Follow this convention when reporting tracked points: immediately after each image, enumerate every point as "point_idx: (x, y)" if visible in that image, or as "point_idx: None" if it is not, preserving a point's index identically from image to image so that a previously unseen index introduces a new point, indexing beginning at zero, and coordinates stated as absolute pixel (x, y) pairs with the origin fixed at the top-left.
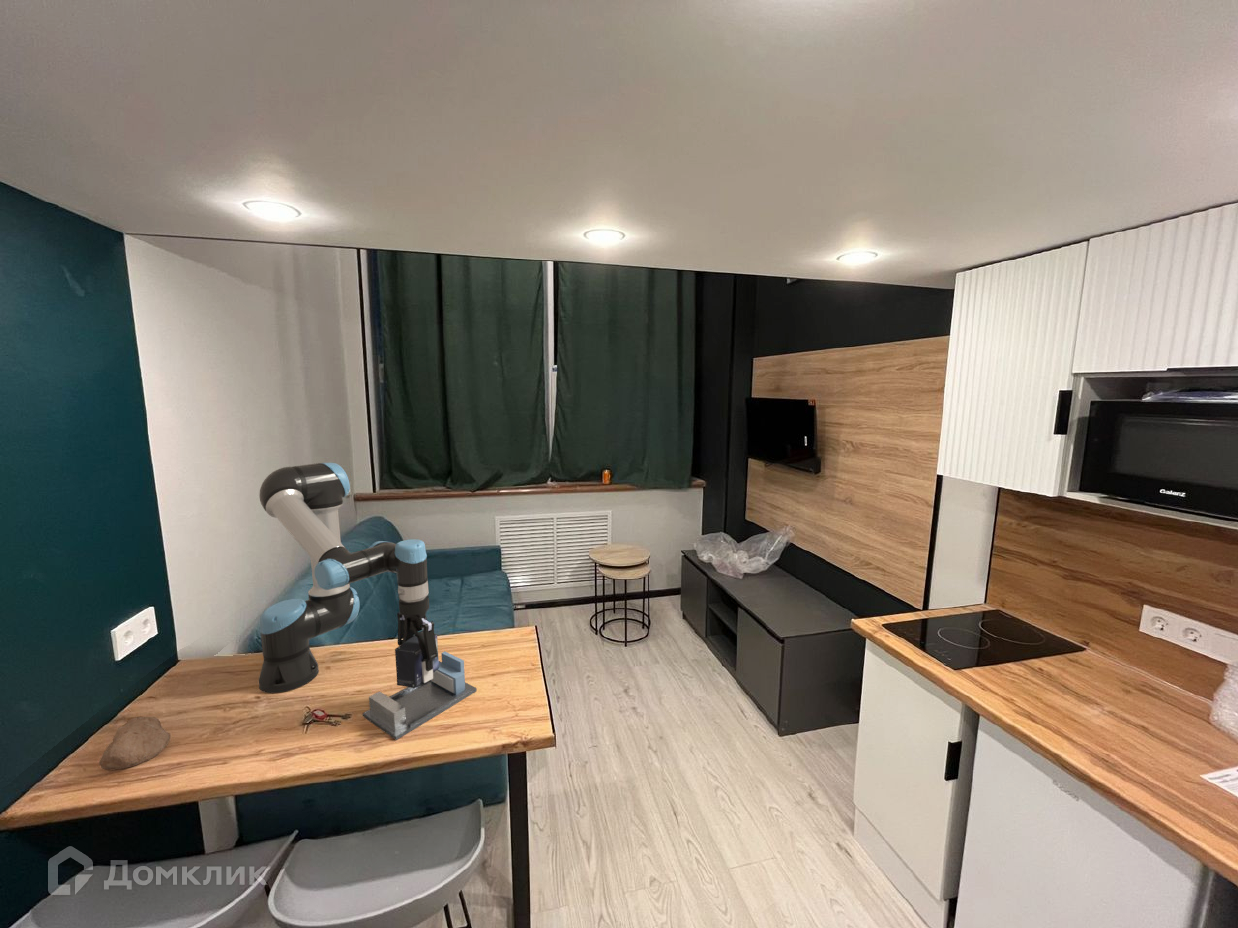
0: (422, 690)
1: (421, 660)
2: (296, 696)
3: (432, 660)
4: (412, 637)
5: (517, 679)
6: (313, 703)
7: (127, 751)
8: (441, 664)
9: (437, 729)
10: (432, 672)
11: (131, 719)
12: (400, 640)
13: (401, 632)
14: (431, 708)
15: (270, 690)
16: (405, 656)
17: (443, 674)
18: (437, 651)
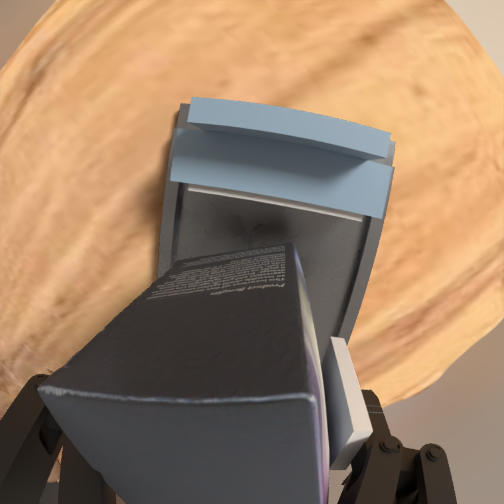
0: (214, 239)
1: (345, 482)
2: (14, 349)
3: (389, 431)
4: (112, 483)
5: (451, 50)
6: (46, 361)
7: (53, 479)
8: (217, 146)
9: (391, 342)
10: (349, 359)
11: None
12: (59, 450)
13: (36, 493)
14: (327, 303)
15: None
16: None
17: (289, 202)
18: (305, 296)
